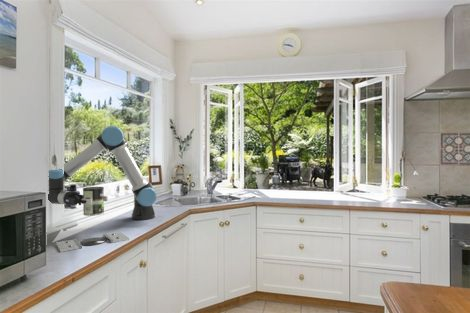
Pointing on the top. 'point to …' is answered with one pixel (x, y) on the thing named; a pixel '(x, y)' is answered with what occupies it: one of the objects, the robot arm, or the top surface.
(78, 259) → the top surface
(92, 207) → the coffee can
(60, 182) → the robot arm
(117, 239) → the hinge leaves
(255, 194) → the top surface
